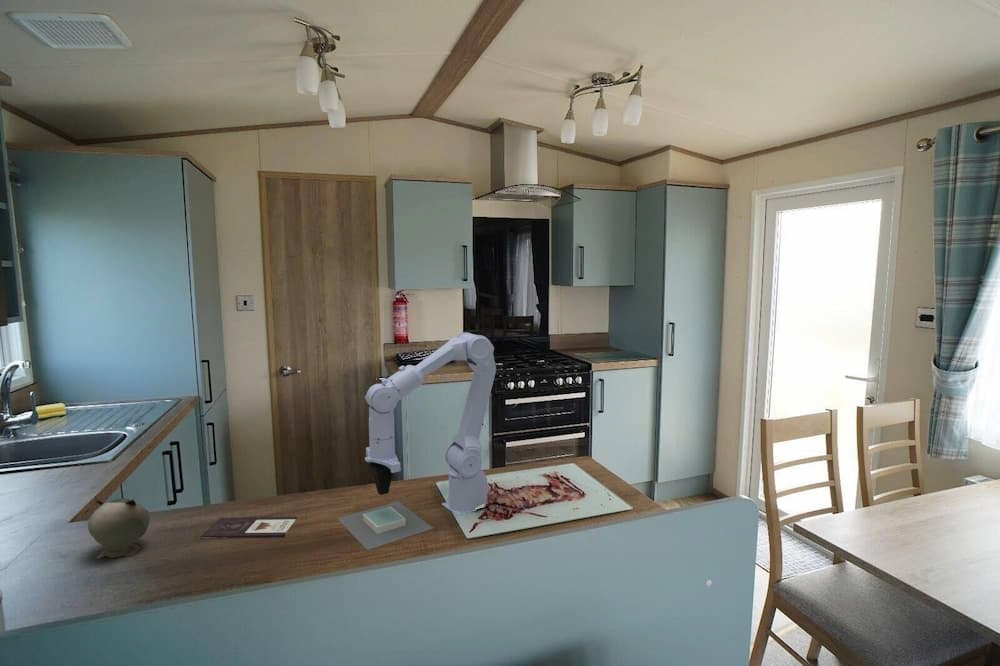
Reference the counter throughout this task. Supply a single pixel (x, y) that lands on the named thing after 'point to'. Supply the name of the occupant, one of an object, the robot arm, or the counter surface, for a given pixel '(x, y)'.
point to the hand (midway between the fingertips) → (383, 493)
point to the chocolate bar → (250, 527)
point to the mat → (374, 540)
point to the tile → (384, 520)
